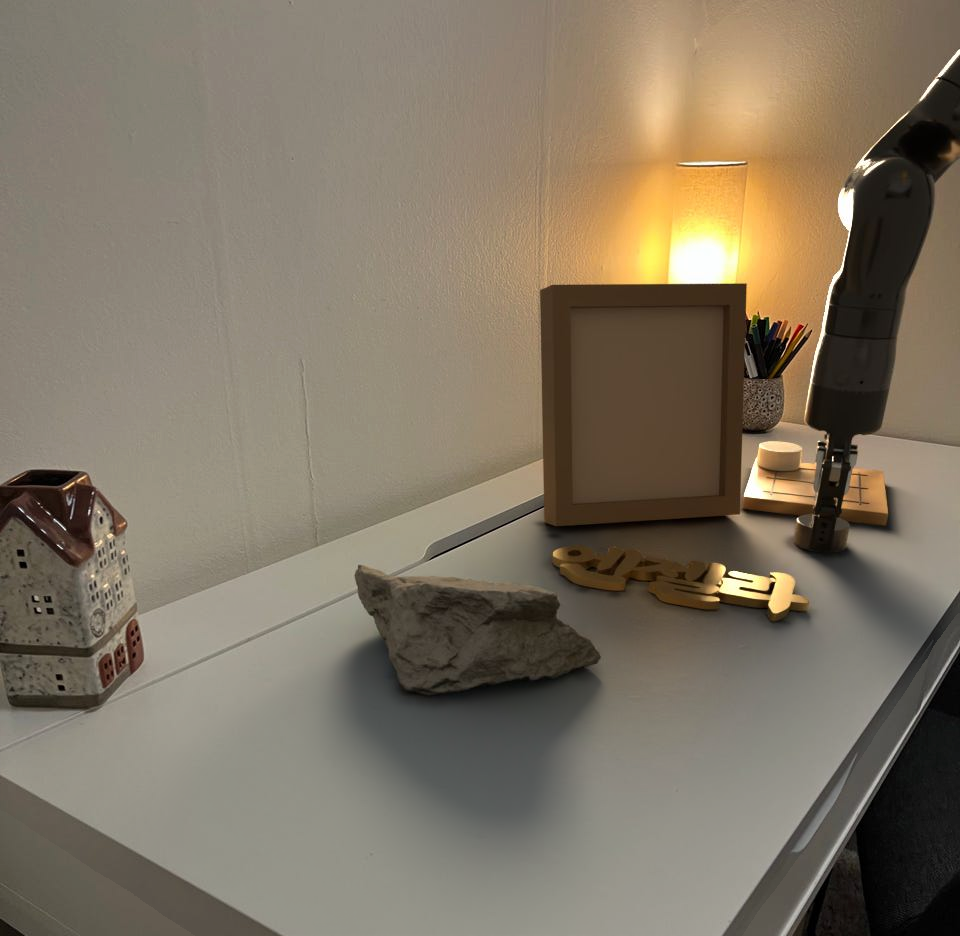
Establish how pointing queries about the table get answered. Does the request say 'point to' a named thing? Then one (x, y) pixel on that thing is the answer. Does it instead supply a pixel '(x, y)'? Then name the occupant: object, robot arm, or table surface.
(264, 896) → the table surface
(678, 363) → the photo frame
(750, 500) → the game board
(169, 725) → the table surface
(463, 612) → the fossil stone
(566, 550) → the lettering
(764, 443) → the white stone
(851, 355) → the robot arm
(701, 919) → the table surface
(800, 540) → the black stone
